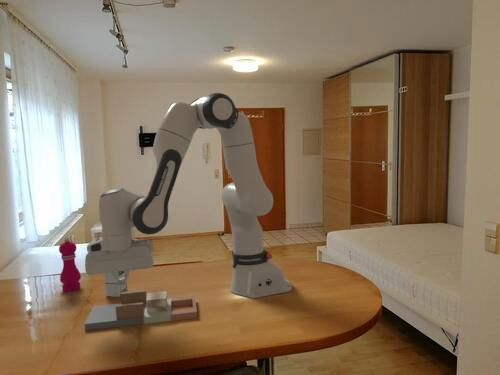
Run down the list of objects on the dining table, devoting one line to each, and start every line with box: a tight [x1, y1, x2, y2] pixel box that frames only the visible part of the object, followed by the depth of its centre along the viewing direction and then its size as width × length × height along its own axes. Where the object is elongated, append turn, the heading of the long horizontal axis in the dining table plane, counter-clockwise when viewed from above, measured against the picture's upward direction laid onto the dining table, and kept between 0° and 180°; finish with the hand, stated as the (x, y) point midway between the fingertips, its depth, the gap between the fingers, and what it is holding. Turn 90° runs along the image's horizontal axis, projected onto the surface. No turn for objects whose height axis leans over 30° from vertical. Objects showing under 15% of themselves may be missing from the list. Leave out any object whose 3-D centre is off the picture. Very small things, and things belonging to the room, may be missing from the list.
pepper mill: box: [58, 237, 82, 293], centre depth 151 cm, size 7×7×20 cm
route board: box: [84, 289, 198, 331], centre depth 127 cm, size 33×13×6 cm, turn 100°
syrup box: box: [103, 271, 129, 298], centre depth 145 cm, size 6×6×14 cm
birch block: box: [146, 290, 168, 313], centre depth 127 cm, size 6×6×4 cm
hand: (122, 284), depth 125 cm, fingers closed
